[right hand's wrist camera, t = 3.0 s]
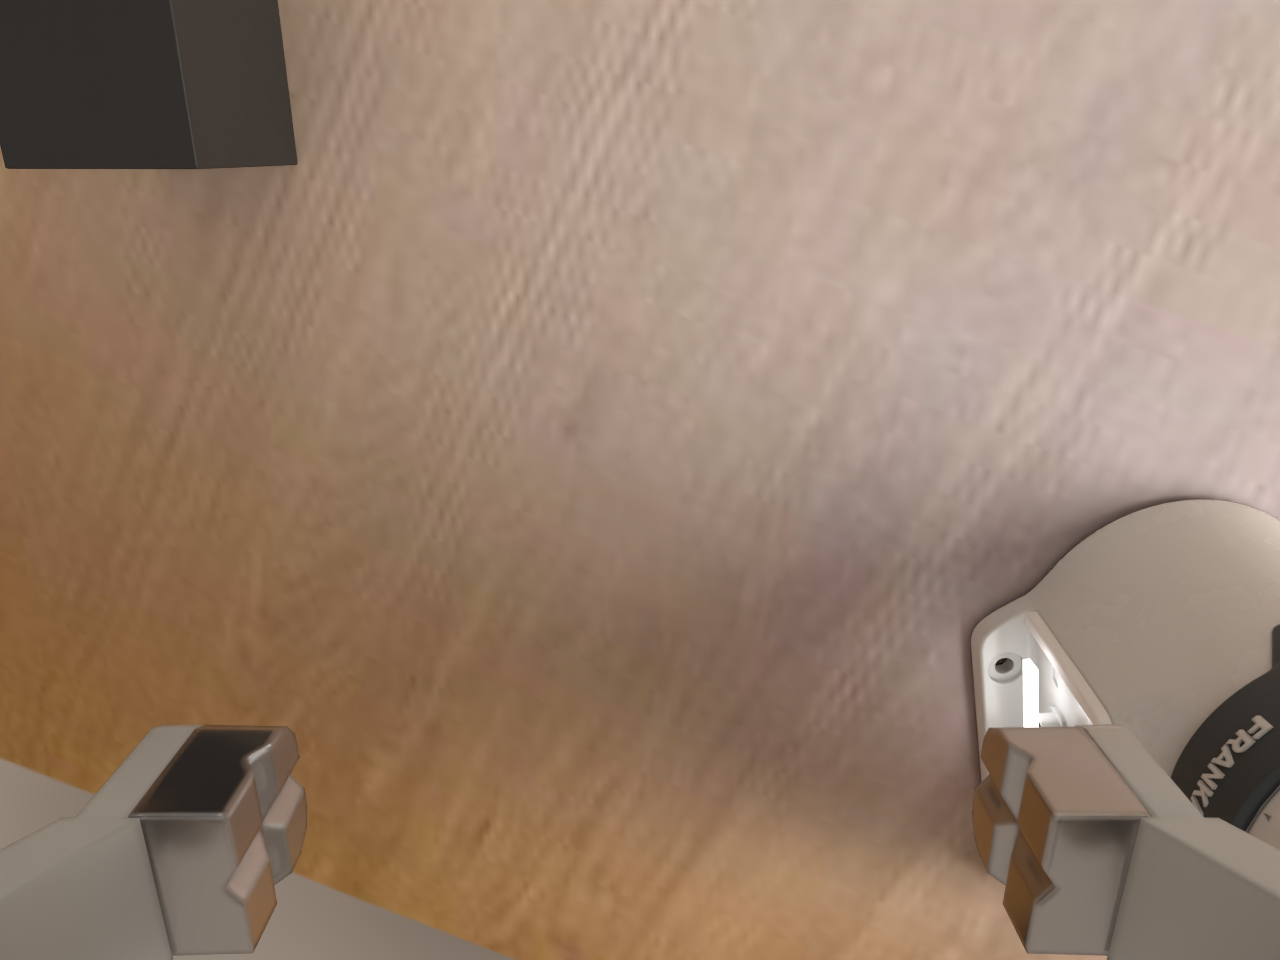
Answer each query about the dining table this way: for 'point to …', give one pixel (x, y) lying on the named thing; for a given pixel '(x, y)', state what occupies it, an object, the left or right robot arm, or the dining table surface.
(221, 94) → the box
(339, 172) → the dining table surface
